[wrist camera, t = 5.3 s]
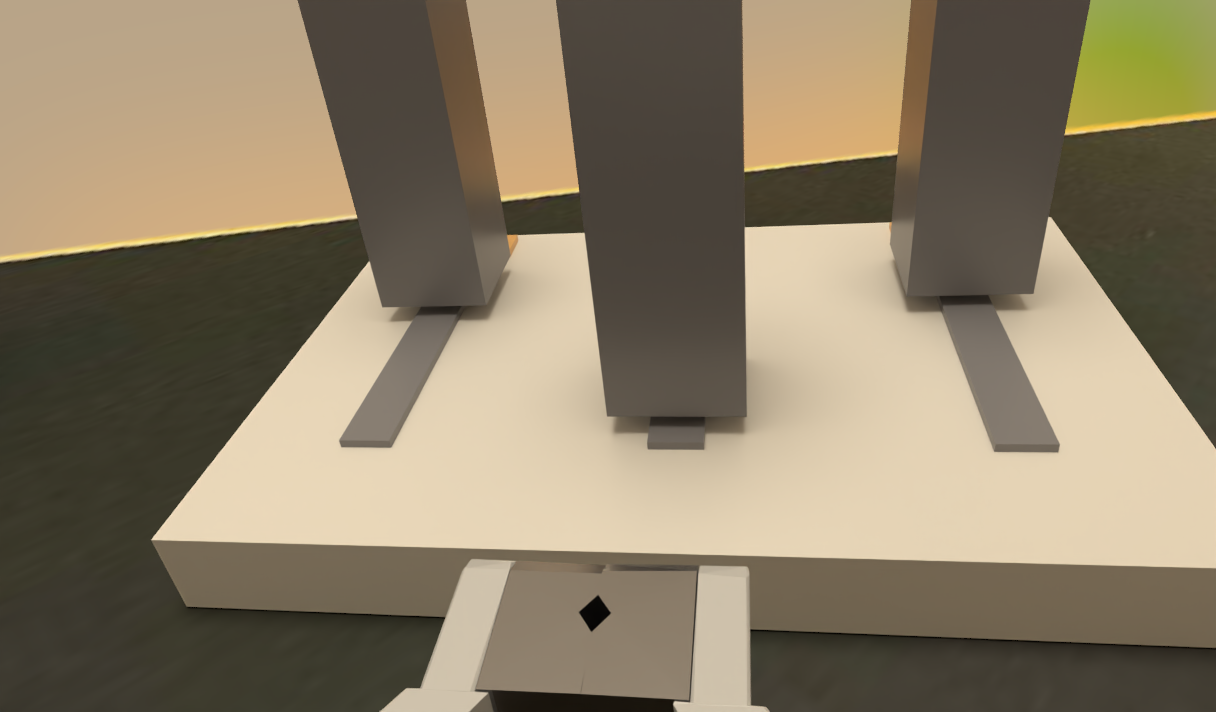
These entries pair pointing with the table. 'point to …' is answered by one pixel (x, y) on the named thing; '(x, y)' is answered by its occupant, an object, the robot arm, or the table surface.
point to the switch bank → (733, 456)
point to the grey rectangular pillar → (662, 198)
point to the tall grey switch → (981, 141)
